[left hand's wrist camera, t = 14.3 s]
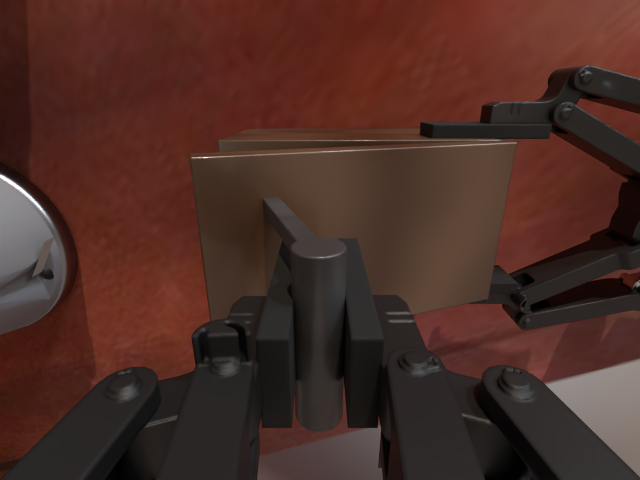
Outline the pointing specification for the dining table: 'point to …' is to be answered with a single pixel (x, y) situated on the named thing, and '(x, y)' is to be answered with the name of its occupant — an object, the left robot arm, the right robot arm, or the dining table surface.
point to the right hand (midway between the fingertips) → (418, 210)
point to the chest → (327, 138)
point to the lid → (349, 222)
